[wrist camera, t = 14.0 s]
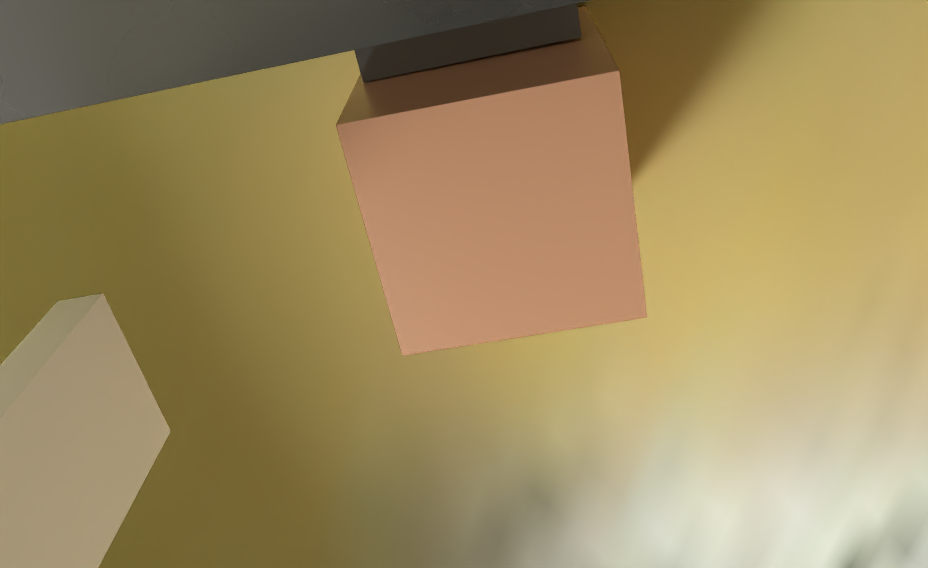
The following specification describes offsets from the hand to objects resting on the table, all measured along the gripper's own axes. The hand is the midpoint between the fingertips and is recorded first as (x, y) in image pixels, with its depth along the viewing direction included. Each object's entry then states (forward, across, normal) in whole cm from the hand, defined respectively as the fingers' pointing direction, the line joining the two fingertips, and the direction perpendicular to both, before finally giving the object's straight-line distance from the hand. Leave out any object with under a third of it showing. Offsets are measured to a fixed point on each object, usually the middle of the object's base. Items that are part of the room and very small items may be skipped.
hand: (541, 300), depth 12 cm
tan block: (+7, -1, 0) cm, 7 cm away
